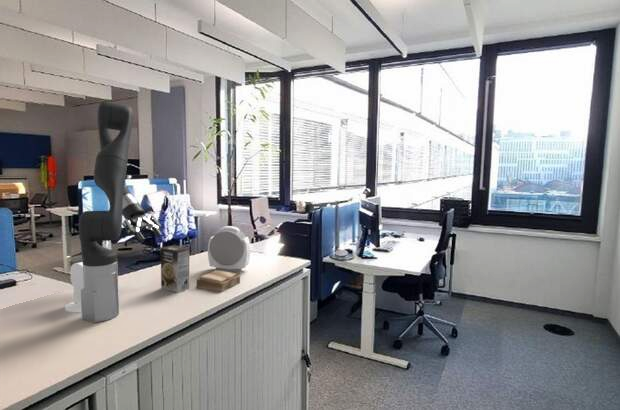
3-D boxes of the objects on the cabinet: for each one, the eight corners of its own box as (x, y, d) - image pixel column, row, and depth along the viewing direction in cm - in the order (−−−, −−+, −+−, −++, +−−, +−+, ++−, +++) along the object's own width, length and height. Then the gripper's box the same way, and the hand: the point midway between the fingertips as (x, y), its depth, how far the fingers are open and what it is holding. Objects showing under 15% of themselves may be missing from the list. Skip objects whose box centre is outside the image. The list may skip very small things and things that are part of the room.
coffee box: (160, 288, 137) (159, 247, 135) (173, 284, 143) (173, 244, 141) (177, 293, 133) (176, 251, 131) (190, 288, 139) (190, 247, 137)
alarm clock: (250, 268, 166) (251, 226, 164) (245, 274, 158) (246, 229, 156) (213, 266, 168) (213, 224, 166) (206, 272, 160) (206, 227, 157)
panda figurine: (113, 304, 121) (111, 261, 120) (77, 315, 112) (75, 269, 110) (93, 296, 127) (91, 255, 126) (58, 307, 118) (55, 262, 116)
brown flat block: (221, 292, 135) (221, 281, 135) (196, 287, 140) (196, 277, 140) (239, 282, 146) (239, 273, 146) (216, 278, 151) (216, 269, 151)
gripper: (119, 203, 136) (142, 236, 132) (149, 200, 149) (170, 230, 146) (109, 216, 138) (132, 248, 135) (140, 212, 151) (161, 241, 148)
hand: (152, 239), depth 140 cm, fingers open, 8 cm apart
